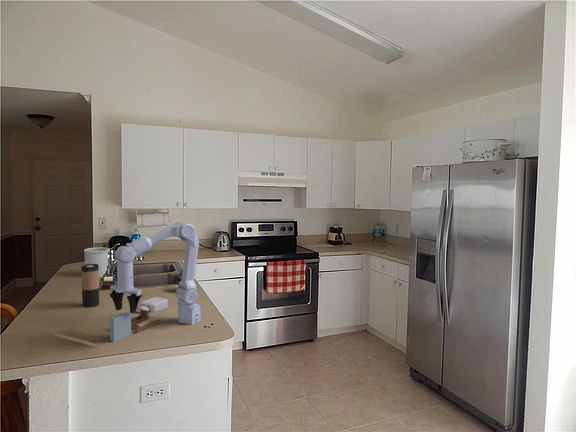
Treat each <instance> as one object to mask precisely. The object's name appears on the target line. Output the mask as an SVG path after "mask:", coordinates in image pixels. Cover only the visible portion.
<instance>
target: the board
mask: <svg viewBox="0 0 576 432" xmlns="http://www.w3.org/2000/svg"><path fill="white" fill-rule="evenodd" d="M131 319H132V313H130V311H127V310H126V311H124V312H122V313H118V314H117V315H113V316H110V317H109V337H110V338H109V341H110V342H112V343H113V342H114V343H115V342H118V341H120V340H121V339H124V338H126V337H128V336H131V335H132V333H131Z"/></svg>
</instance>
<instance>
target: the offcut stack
mask: <svg viewBox="0 0 576 432" xmlns="http://www.w3.org/2000/svg"><path fill="white" fill-rule="evenodd" d="M153 321H154V319H150V318H149V319H148V320H145V321H143V322H140V323H138V324H136V325H135V327H134V330H136V329H137V328H139V327H142V326H144V325H146V324H149V323H151V322H153Z"/></svg>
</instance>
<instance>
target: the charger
mask: <svg viewBox="0 0 576 432" xmlns="http://www.w3.org/2000/svg"><path fill="white" fill-rule="evenodd" d="M168 308H169V300H168V299H167V298H163V297H157V296H155V297H150V298H148V299H146V300H143V301H139V307H137V309H136V312H137V313H139V314H140V310H141V309H142V310H147V311H149V313H150V312H151V313H155V312H157V311H160V310H161V311H163V310H166V309H168Z"/></svg>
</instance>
